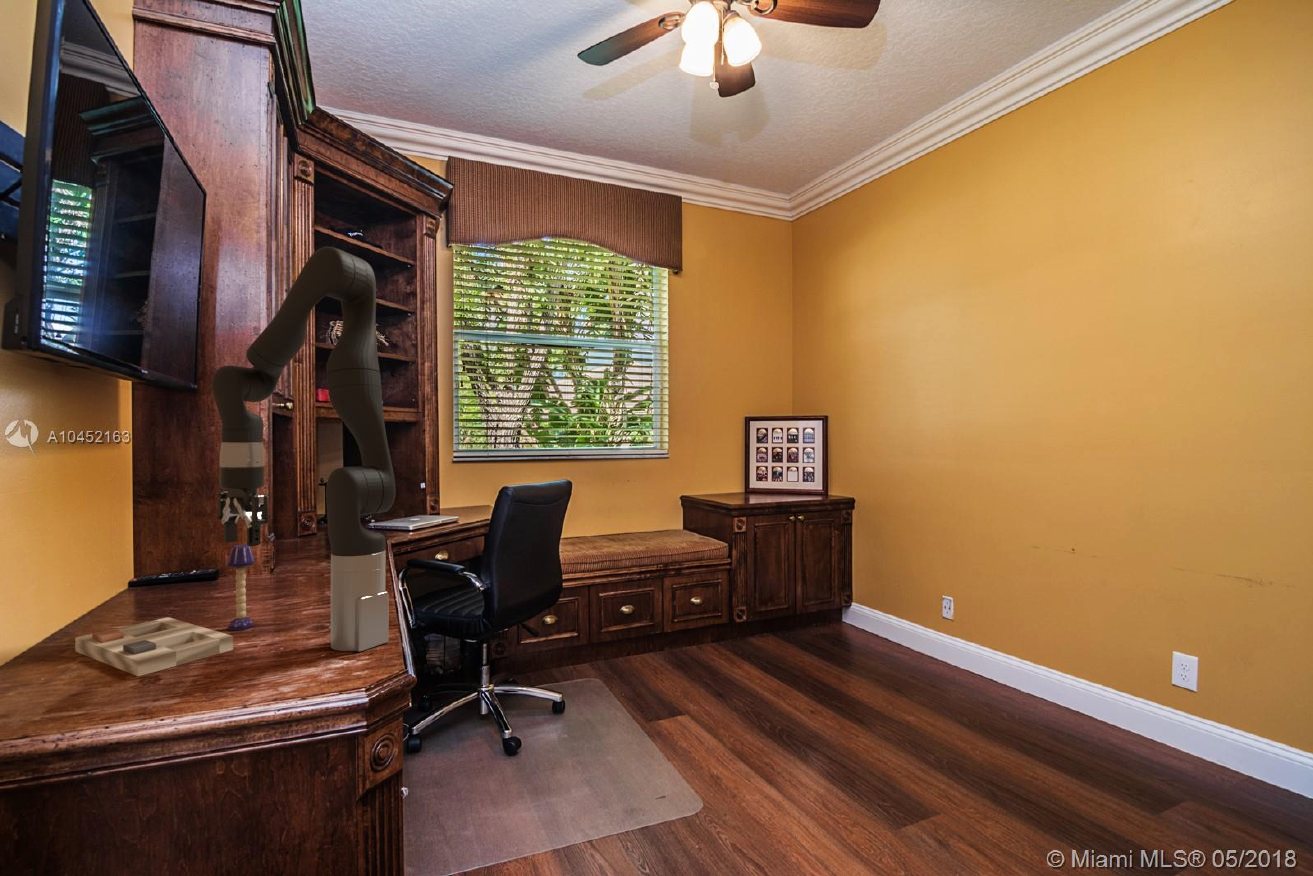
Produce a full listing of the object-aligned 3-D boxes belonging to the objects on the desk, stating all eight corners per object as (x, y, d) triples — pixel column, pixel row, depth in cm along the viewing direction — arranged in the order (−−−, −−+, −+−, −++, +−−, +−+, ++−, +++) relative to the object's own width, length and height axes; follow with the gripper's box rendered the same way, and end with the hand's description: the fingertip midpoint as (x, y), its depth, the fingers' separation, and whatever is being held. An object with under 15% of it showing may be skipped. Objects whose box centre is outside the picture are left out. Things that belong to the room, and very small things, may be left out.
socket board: (233, 649, 109) (233, 630, 109) (138, 676, 96) (138, 654, 96) (167, 629, 120) (167, 612, 120) (75, 651, 108) (75, 632, 108)
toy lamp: (222, 628, 121) (222, 546, 121) (246, 622, 125) (247, 542, 125) (235, 632, 119) (235, 548, 119) (260, 625, 123) (260, 544, 123)
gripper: (281, 465, 122) (280, 544, 122) (243, 462, 129) (242, 538, 129) (241, 466, 115) (241, 550, 115) (203, 464, 122) (202, 543, 122)
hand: (241, 543), depth 122 cm, fingers open, 8 cm apart
